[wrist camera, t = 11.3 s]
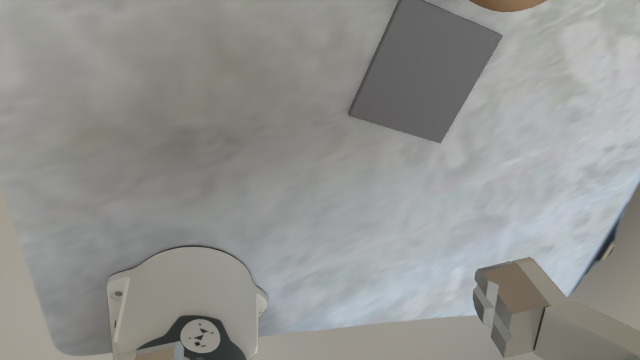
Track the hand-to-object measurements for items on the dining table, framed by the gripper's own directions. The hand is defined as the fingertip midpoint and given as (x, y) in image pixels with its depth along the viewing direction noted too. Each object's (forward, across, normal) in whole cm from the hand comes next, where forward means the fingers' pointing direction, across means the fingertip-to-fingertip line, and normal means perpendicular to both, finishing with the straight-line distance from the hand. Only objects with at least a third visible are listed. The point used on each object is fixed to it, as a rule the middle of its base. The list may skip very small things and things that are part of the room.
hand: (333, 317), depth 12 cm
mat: (+31, -15, +7) cm, 35 cm away
